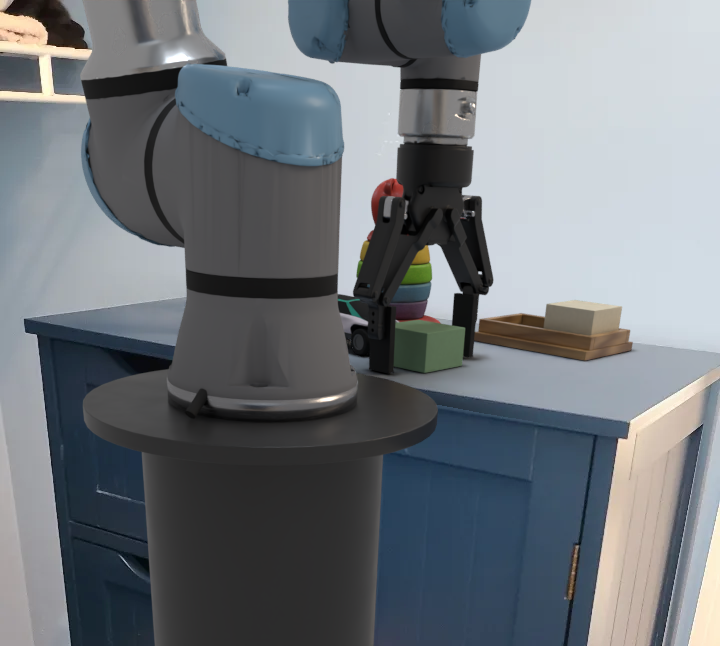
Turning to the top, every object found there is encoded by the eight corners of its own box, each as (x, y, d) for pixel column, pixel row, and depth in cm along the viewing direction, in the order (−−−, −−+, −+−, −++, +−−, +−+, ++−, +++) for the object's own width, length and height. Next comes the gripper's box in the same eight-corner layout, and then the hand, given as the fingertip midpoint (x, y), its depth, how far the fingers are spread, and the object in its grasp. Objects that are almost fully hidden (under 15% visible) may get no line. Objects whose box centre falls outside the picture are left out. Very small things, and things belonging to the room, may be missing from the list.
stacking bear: (414, 343, 114) (424, 179, 106) (339, 334, 117) (343, 175, 109) (446, 332, 122) (458, 179, 114) (375, 324, 126) (382, 175, 118)
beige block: (589, 346, 110) (594, 310, 108) (542, 338, 114) (546, 303, 112) (617, 341, 115) (622, 306, 113) (570, 333, 118) (575, 299, 117)
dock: (585, 360, 108) (588, 338, 107) (472, 340, 118) (474, 319, 117) (631, 350, 116) (635, 329, 114) (522, 332, 125) (524, 312, 124)
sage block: (424, 373, 98) (427, 333, 97) (377, 363, 102) (379, 324, 100) (462, 365, 103) (465, 327, 101) (416, 356, 107) (418, 319, 105)
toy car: (337, 336, 116) (338, 290, 114) (404, 352, 108) (407, 303, 106) (299, 340, 113) (299, 293, 110) (366, 357, 105) (368, 306, 103)
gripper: (380, 138, 82) (371, 385, 92) (538, 146, 99) (517, 354, 109) (318, 137, 87) (316, 372, 96) (480, 144, 103) (464, 344, 113)
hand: (422, 363), depth 103 cm, fingers open, 13 cm apart
